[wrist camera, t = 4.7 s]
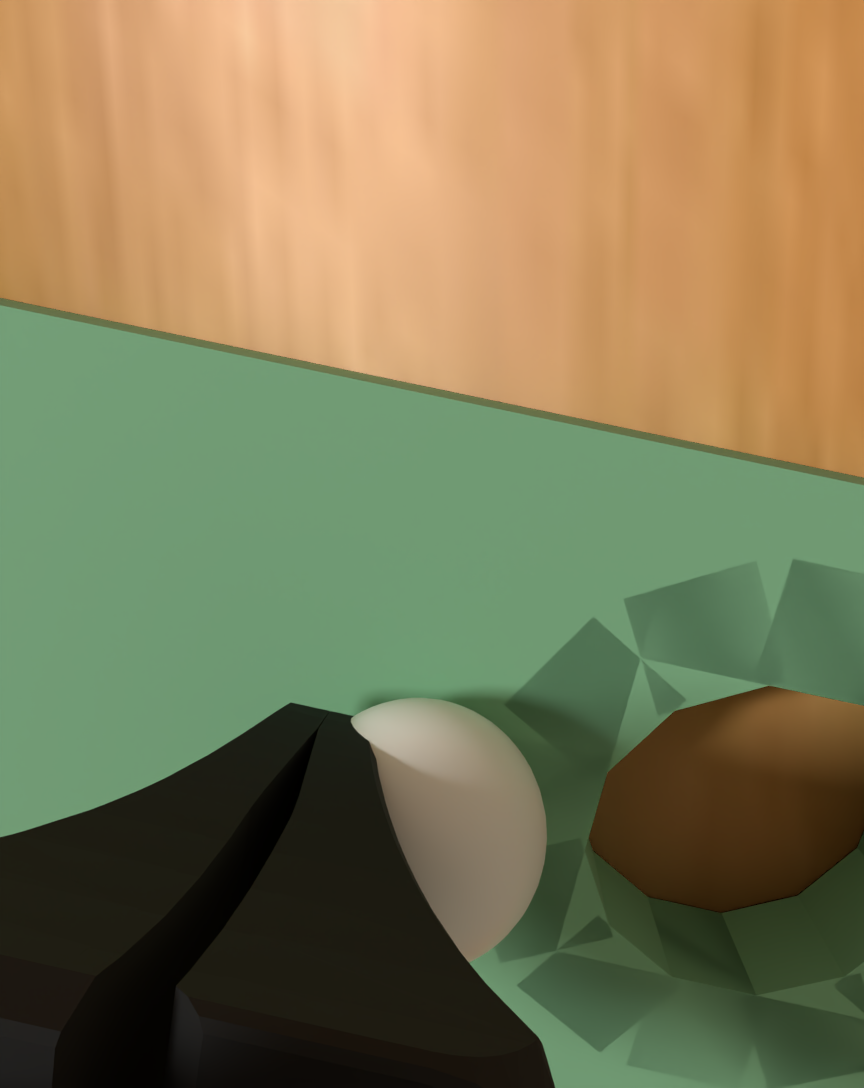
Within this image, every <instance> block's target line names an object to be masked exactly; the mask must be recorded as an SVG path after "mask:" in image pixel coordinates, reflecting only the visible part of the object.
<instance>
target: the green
mask: <svg viewBox="0 0 864 1088" xmlns="http://www.w3.org/2000/svg"><path fill="white" fill-rule="evenodd" d="M766 686H774V687H779V688H783V689H788V690H793V691H797V692H802V693H807V694H811V695H816V696H821V697H825V698H830V699H835V700H839V701H844V702H849V703H853V704H858V705H863V706H864V478H862V477H857V476H853V475H848V474H843V473H838V472H833V471H829V470H824V469H819V468H814V467H809V466H805V465H800V464H795V463H790V462H785V461H781V460H776V459H771V458H766V457H761V456H757V455H752V454H747V453H742V452H737V451H733V450H728V449H723V448H718V447H713V446H709V445H704V444H699V443H694V442H689V441H685V440H680V439H675V438H670V437H665V436H661V435H656V434H651V433H646V432H641V431H637V430H632V429H627V428H622V427H617V426H613V425H608V424H603V423H598V422H593V421H589V420H584V419H579V418H574V417H569V416H565V415H560V414H555V413H550V412H545V411H541V410H536V409H531V408H526V407H521V406H517V405H512V404H507V403H502V402H497V401H493V400H488V399H483V398H478V397H473V396H469V395H464V394H459V393H454V392H449V391H445V390H440V389H435V388H430V387H425V386H421V385H416V384H411V383H406V382H401V381H397V380H392V379H387V378H382V377H377V376H373V375H368V374H363V373H358V372H353V371H349V370H344V369H339V368H334V367H329V366H324V365H320V364H315V363H310V362H305V361H300V360H296V359H291V358H286V357H281V356H276V355H272V354H267V353H262V352H257V351H252V350H248V349H243V348H238V347H233V346H228V345H224V344H219V343H214V342H209V341H204V340H200V339H195V338H190V337H185V336H180V335H176V334H171V333H166V332H161V331H156V330H152V329H147V328H142V327H137V326H132V325H128V324H123V323H118V322H113V321H108V320H104V319H99V318H94V317H89V316H84V315H80V314H75V313H70V312H65V311H60V310H56V309H51V308H46V307H41V306H36V305H32V304H27V303H22V302H17V301H12V300H8V299H3V298H0V837H3V836H7V835H11V834H15V833H18V832H22V831H26V830H29V829H32V828H35V827H38V826H41V825H44V824H47V823H51V822H54V821H57V820H60V819H63V818H66V817H69V816H72V815H76V814H79V813H82V812H85V811H88V810H91V809H94V808H96V807H99V806H102V805H104V804H107V803H109V802H112V801H114V800H117V799H119V798H121V797H124V796H126V795H129V794H131V793H134V792H136V791H138V790H140V789H143V788H145V787H147V786H149V785H152V784H154V783H156V782H158V781H160V780H162V779H164V778H166V777H168V776H170V775H172V774H174V773H175V772H177V771H179V770H181V769H183V768H185V767H187V766H188V765H190V764H192V763H194V762H196V761H198V760H200V759H201V758H203V757H205V756H207V755H209V754H210V753H212V752H214V751H215V750H217V749H218V748H220V747H222V746H223V745H225V744H227V743H228V742H230V741H231V740H233V739H235V738H236V737H238V736H239V735H241V734H243V733H244V732H246V731H247V730H249V729H250V728H252V727H253V726H255V725H256V724H258V723H259V722H261V721H262V720H264V719H265V718H267V717H268V716H270V715H271V714H273V713H274V712H276V711H277V710H279V709H281V708H282V707H284V706H286V705H287V704H289V703H290V702H291V703H296V704H300V705H305V706H310V707H314V708H319V709H324V710H328V711H330V712H331V711H333V712H338V713H342V714H347V715H352V716H355V715H356V714H358V713H360V712H362V711H364V710H366V709H368V708H370V707H373V706H376V705H379V704H381V703H385V702H389V701H393V700H398V699H405V698H430V699H438V700H444V701H448V702H452V703H455V704H458V705H461V706H463V707H466V708H468V709H470V710H473V711H474V712H476V713H478V714H480V715H481V716H483V717H485V718H486V719H488V720H489V721H491V722H492V723H493V724H495V725H496V726H497V727H498V728H499V729H500V730H502V731H503V732H504V733H505V734H506V735H507V736H508V737H509V738H510V739H511V740H512V742H513V743H514V744H515V745H516V746H517V748H518V749H519V750H520V752H521V753H522V755H523V756H524V758H525V759H526V761H527V763H528V764H529V766H530V768H531V770H532V772H533V774H534V777H535V779H536V782H537V784H538V787H539V789H540V792H541V796H542V801H543V805H544V810H545V814H546V828H547V844H546V854H545V862H544V866H543V870H542V874H541V877H540V881H539V884H538V887H537V889H536V892H535V894H534V896H533V898H532V900H531V902H530V904H529V906H528V908H527V910H526V911H525V913H524V915H523V916H522V917H521V919H520V920H519V922H518V923H517V924H516V925H515V926H514V928H513V929H512V930H511V931H510V932H509V934H508V935H507V936H506V937H505V938H504V939H503V940H502V941H501V942H499V943H498V944H497V945H496V946H495V947H493V948H492V949H491V950H489V951H488V952H487V953H485V954H483V955H482V956H480V957H479V958H477V959H475V960H473V961H471V962H469V963H470V965H471V966H472V967H473V968H474V969H475V971H476V972H477V973H478V974H479V976H480V977H481V978H482V979H483V980H484V982H485V983H486V984H487V985H488V986H489V987H490V988H491V989H492V990H493V991H494V992H495V993H496V994H497V995H498V996H499V997H500V998H501V999H502V1000H503V1002H504V1003H505V1004H506V1005H507V1006H508V1007H509V1008H510V1009H511V1010H512V1011H513V1012H514V1013H515V1014H516V1015H517V1016H518V1017H519V1018H520V1019H521V1020H522V1021H523V1022H524V1023H525V1024H526V1025H527V1026H528V1027H529V1028H530V1029H531V1030H532V1031H533V1032H534V1033H535V1034H536V1035H537V1036H538V1037H539V1039H540V1041H541V1042H542V1044H543V1048H544V1051H545V1054H546V1057H547V1060H548V1064H549V1067H550V1071H551V1074H552V1078H553V1081H554V1085H555V1088H864V832H863V834H862V837H861V839H860V842H859V845H858V847H857V848H856V849H855V850H854V851H852V852H851V853H850V854H849V855H847V856H846V857H845V858H844V859H843V860H841V861H840V862H839V863H838V864H836V865H835V866H834V867H833V868H831V869H830V870H829V871H828V872H826V873H825V874H824V875H823V876H821V877H820V878H819V879H818V880H817V881H815V882H814V883H813V884H812V885H810V886H809V887H808V888H807V889H805V890H804V891H803V892H802V893H800V894H799V895H798V896H794V897H790V898H785V899H781V900H777V901H772V902H768V903H764V904H759V905H755V906H750V907H746V908H742V909H737V910H733V911H729V912H724V913H719V912H714V911H710V910H705V909H701V908H696V907H691V906H687V905H682V904H678V903H673V902H669V901H664V900H660V899H655V898H650V897H647V896H646V895H645V894H644V893H642V892H641V891H640V890H639V889H638V888H636V887H635V886H634V885H633V884H632V883H630V882H629V881H628V880H627V879H626V878H625V877H623V876H622V875H621V874H620V873H619V872H617V871H616V870H615V869H614V868H613V867H611V866H610V865H609V864H608V863H607V862H606V861H604V860H603V859H602V858H601V857H600V856H598V855H597V854H596V853H595V852H594V851H593V849H592V846H591V843H590V840H589V834H590V831H591V828H592V824H593V821H594V817H595V814H596V810H597V807H598V803H599V800H600V796H601V793H602V789H603V786H604V782H605V779H606V775H607V772H609V771H610V770H611V769H612V768H613V767H614V766H615V765H616V764H617V763H618V762H619V761H621V760H622V759H623V758H624V757H625V756H626V755H627V754H628V753H629V752H630V751H631V750H633V749H634V748H635V747H636V746H637V745H638V744H639V743H640V742H641V741H642V740H643V739H644V738H646V737H647V736H648V735H649V734H650V733H651V732H652V731H653V730H654V729H655V728H656V727H658V726H659V725H660V724H661V723H662V722H663V721H664V720H665V719H666V718H667V717H668V716H669V715H671V714H672V713H673V712H674V711H676V710H680V709H684V708H687V707H691V706H695V705H699V704H702V703H706V702H710V701H714V700H717V699H721V698H725V697H729V696H732V695H736V694H740V693H743V692H747V691H751V690H755V689H758V688H762V687H766Z"/></svg>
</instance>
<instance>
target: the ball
mask: <svg viewBox="0 0 864 1088" xmlns="http://www.w3.org/2000/svg"><path fill="white" fill-rule="evenodd" d="M351 723H352V725H353V727H354V728H355V729H356V731H357V732H358V733H359V734H361V735H362V736H363V737H364V738H365V739H367V740H368V741H369V742H370V745H371V748H372V750H373V753H374V755H375V757H376V760H377V767H378V773H379V778H380V782H381V786H382V790H383V794H384V798H385V802H386V805H387V809H388V812H389V815H390V818H391V821H392V824H393V827H394V830H395V833H396V835H397V838H398V841H399V843H400V846H401V848H402V851H403V853H404V855H405V858H406V860H407V862H408V864H409V866H410V869H411V871H412V873H413V875H414V877H415V879H416V881H417V883H418V885H419V887H420V889H421V890H422V892H423V894H424V896H425V898H426V899H427V901H428V903H429V905H430V907H431V908H432V910H433V912H434V913H435V915H436V916H437V918H438V919H439V921H440V922H441V924H442V925H443V927H444V928H445V930H446V931H447V933H448V934H449V936H450V937H451V939H452V940H453V942H454V943H455V945H456V946H457V948H458V949H459V951H460V952H461V953H462V955H463V956H464V957H465V958H466V960H467V961H468V962H471V961H473V960H475V959H477V958H479V957H480V956H482V955H483V954H485V953H487V952H488V951H489V950H491V949H492V948H493V947H495V946H496V945H497V944H498V943H499V942H501V941H502V940H503V939H504V938H505V937H506V936H507V935H508V934H509V932H510V931H511V930H512V929H513V928H514V926H515V925H516V924H517V923H518V922H519V920H520V919H521V917H522V916H523V915H524V913H525V911H526V910H527V908H528V906H529V904H530V902H531V900H532V898H533V896H534V894H535V892H536V889H537V887H538V884H539V881H540V877H541V874H542V870H543V866H544V862H545V854H546V844H547V828H546V814H545V810H544V805H543V801H542V796H541V792H540V789H539V787H538V784H537V782H536V779H535V777H534V774H533V772H532V770H531V768H530V766H529V764H528V763H527V761H526V759H525V758H524V756H523V755H522V753H521V752H520V750H519V749H518V748H517V746H516V745H515V744H514V743H513V742H512V740H511V739H510V738H509V737H508V736H507V735H506V734H505V733H504V732H503V731H502V730H500V729H499V728H498V727H497V726H496V725H495V724H493V723H492V722H491V721H489V720H488V719H486V718H485V717H483V716H481V715H480V714H478V713H476V712H474V711H473V710H470V709H468V708H466V707H463V706H461V705H458V704H455V703H452V702H448V701H444V700H438V699H430V698H405V699H398V700H393V701H389V702H385V703H381V704H379V705H376V706H373V707H370V708H368V709H366V710H364V711H362V712H360V713H358V714H356V715H355V716H353V717H352V718H351Z"/></svg>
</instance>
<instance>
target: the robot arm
mask: <svg viewBox="0 0 864 1088" xmlns="http://www.w3.org/2000/svg"><path fill="white" fill-rule="evenodd" d="M352 717H353V716H352V715H347V714H342V713H338V712H333V711H331V712H330V711H328V710H324V709H319V708H314V707H310V706H305V705H300V704H296V703H291V702H290V703H289V704H287V705H286V706H284V707H282V708H281V709H279V710H277V711H276V712H274V713H273V714H271V715H270V716H268V717H267V718H265V719H264V720H262V721H261V722H259V723H258V724H256V725H255V726H253V727H252V728H250V729H249V730H247V731H246V732H244V733H243V734H241V735H239V736H238V737H236V738H235V739H233V740H231V741H230V742H228V743H227V744H225V745H223V746H222V747H220V748H218V749H217V750H215V751H214V752H212V753H210V754H209V755H207V756H205V757H203V758H201V759H200V760H198V761H196V762H194V763H192V764H190V765H188V766H187V767H185V768H183V769H181V770H179V771H177V772H175V773H174V774H172V775H170V776H168V777H166V778H164V779H162V780H160V781H158V782H156V783H154V784H152V785H149V786H147V787H145V788H143V789H140V790H138V791H136V792H134V793H131V794H129V795H126V796H124V797H121V798H119V799H117V800H114V801H112V802H109V803H107V804H104V805H102V806H99V807H96V808H94V809H91V810H88V811H85V812H82V813H79V814H76V815H72V816H69V817H66V818H63V819H60V820H57V821H54V822H51V823H47V824H44V825H41V826H38V827H35V828H32V829H29V830H26V831H22V832H18V833H15V834H11V835H7V836H3V837H0V1088H555V1085H554V1081H553V1078H552V1074H551V1071H550V1067H549V1064H548V1060H547V1057H546V1054H545V1051H544V1048H543V1044H542V1042H541V1041H540V1039H539V1037H538V1036H537V1035H536V1034H535V1033H534V1032H533V1031H532V1030H531V1029H530V1028H529V1027H528V1026H527V1025H526V1024H525V1023H524V1022H523V1021H522V1020H521V1019H520V1018H519V1017H518V1016H517V1015H516V1014H515V1013H514V1012H513V1011H512V1010H511V1009H510V1008H509V1007H508V1006H507V1005H506V1004H505V1003H504V1002H503V1000H502V999H501V998H500V997H499V996H498V995H497V994H496V993H495V992H494V991H493V990H492V989H491V988H490V987H489V986H488V985H487V984H486V983H485V982H484V980H483V979H482V978H481V977H480V976H479V974H478V973H477V972H476V971H475V969H474V968H473V967H472V966H471V965H470V963H469V962H468V961H467V960H466V958H465V957H464V956H463V955H462V953H461V952H460V951H459V949H458V948H457V946H456V945H455V943H454V942H453V940H452V939H451V937H450V936H449V934H448V933H447V931H446V930H445V928H444V927H443V925H442V924H441V922H440V921H439V919H438V918H437V916H436V915H435V913H434V912H433V910H432V908H431V907H430V905H429V903H428V901H427V899H426V898H425V896H424V894H423V892H422V890H421V889H420V887H419V885H418V883H417V881H416V879H415V877H414V875H413V873H412V871H411V869H410V866H409V864H408V862H407V860H406V858H405V855H404V853H403V851H402V848H401V846H400V843H399V841H398V838H397V835H396V833H395V830H394V827H393V824H392V821H391V818H390V815H389V812H388V809H387V805H386V802H385V798H384V794H383V790H382V786H381V782H380V778H379V773H378V767H377V760H376V757H375V755H374V753H373V750H372V748H371V745H370V742H369V741H368V740H367V739H365V738H364V737H363V736H362V735H361V734H359V733H358V732H357V731H356V729H355V728H354V727H353V725H352V723H351V718H352Z"/></svg>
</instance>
